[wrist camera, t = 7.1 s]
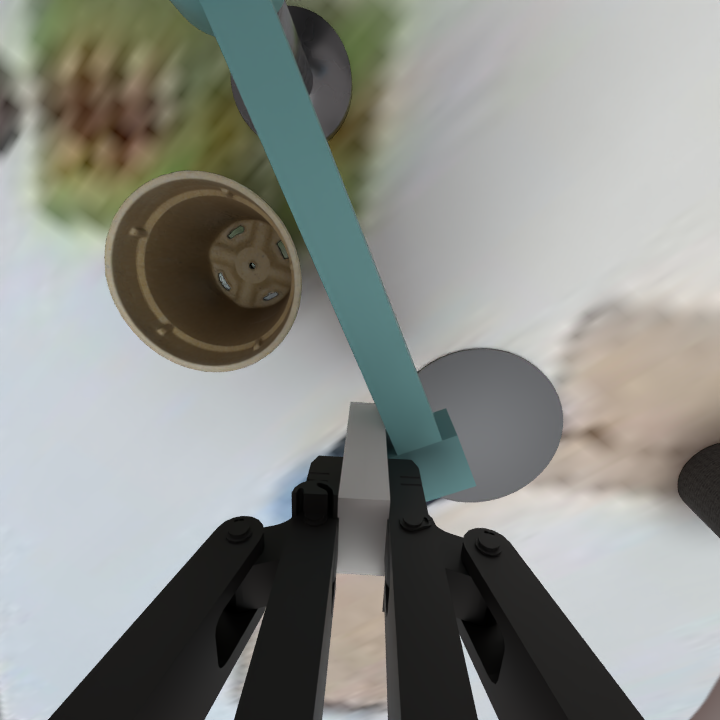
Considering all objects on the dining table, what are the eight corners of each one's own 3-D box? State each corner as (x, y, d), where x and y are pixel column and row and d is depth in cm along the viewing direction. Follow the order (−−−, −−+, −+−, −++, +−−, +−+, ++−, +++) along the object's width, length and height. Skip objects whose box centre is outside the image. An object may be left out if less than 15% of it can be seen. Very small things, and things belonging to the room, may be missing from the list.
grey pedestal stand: (249, -3, 22) (134, -225, 11) (366, 39, 22) (361, -137, 12) (226, 131, 24) (111, 49, 13) (334, 167, 24) (304, 114, 14)
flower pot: (351, 257, 26) (341, 267, 18) (270, 357, 28) (229, 406, 20) (238, 159, 24) (169, 120, 16) (162, 274, 27) (69, 290, 19)
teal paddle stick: (130, -90, 12) (54, -193, 9) (253, -169, 11) (213, -306, 8) (386, 475, 18) (388, 520, 15) (476, 446, 17) (497, 486, 15)
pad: (424, 326, 27) (425, 327, 27) (591, 378, 28) (594, 380, 28) (369, 474, 31) (369, 477, 31) (517, 516, 32) (519, 520, 32)
